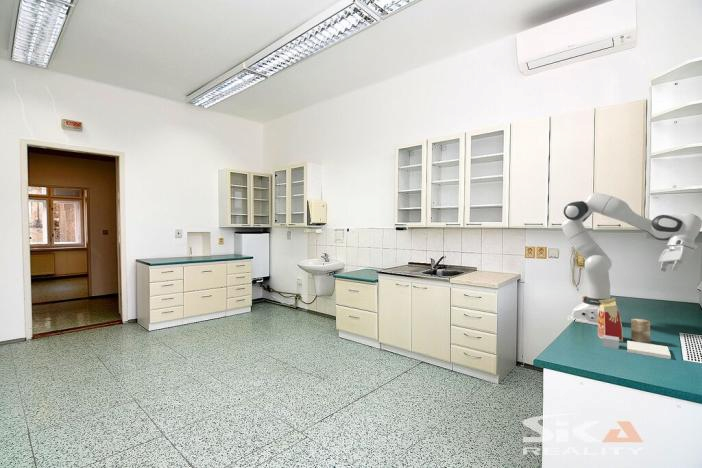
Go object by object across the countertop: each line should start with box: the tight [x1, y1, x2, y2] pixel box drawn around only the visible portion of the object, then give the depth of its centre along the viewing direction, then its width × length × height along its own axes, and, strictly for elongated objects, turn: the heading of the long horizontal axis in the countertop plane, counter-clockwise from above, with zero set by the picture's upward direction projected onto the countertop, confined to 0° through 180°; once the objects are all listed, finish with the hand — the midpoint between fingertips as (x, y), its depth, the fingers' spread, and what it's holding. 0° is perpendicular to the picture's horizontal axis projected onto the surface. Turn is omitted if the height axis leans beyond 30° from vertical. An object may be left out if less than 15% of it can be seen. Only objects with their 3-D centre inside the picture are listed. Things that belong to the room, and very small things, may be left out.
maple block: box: [630, 318, 651, 344], centre depth 166 cm, size 5×5×10 cm
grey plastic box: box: [601, 335, 620, 350], centre depth 160 cm, size 6×6×4 cm
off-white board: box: [626, 340, 672, 360], centre depth 153 cm, size 14×14×2 cm
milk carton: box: [597, 297, 624, 342], centre depth 171 cm, size 9×9×20 cm
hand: (667, 270), depth 171 cm, fingers open, 8 cm apart
